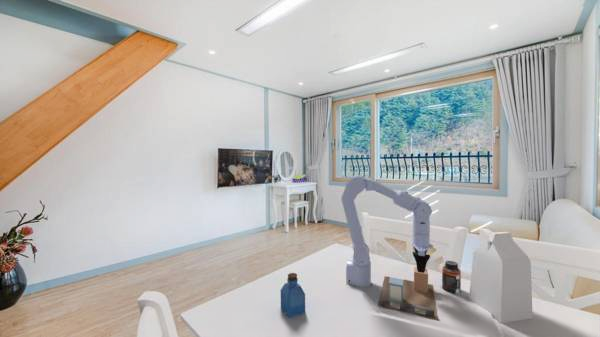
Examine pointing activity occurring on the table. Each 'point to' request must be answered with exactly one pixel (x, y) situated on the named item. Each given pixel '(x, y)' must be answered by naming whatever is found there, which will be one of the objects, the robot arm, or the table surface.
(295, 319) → the table surface
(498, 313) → the milk
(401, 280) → the slate carton
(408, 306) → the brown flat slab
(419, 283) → the peach carton
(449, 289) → the supplement bottle
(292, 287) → the perfume bottle
